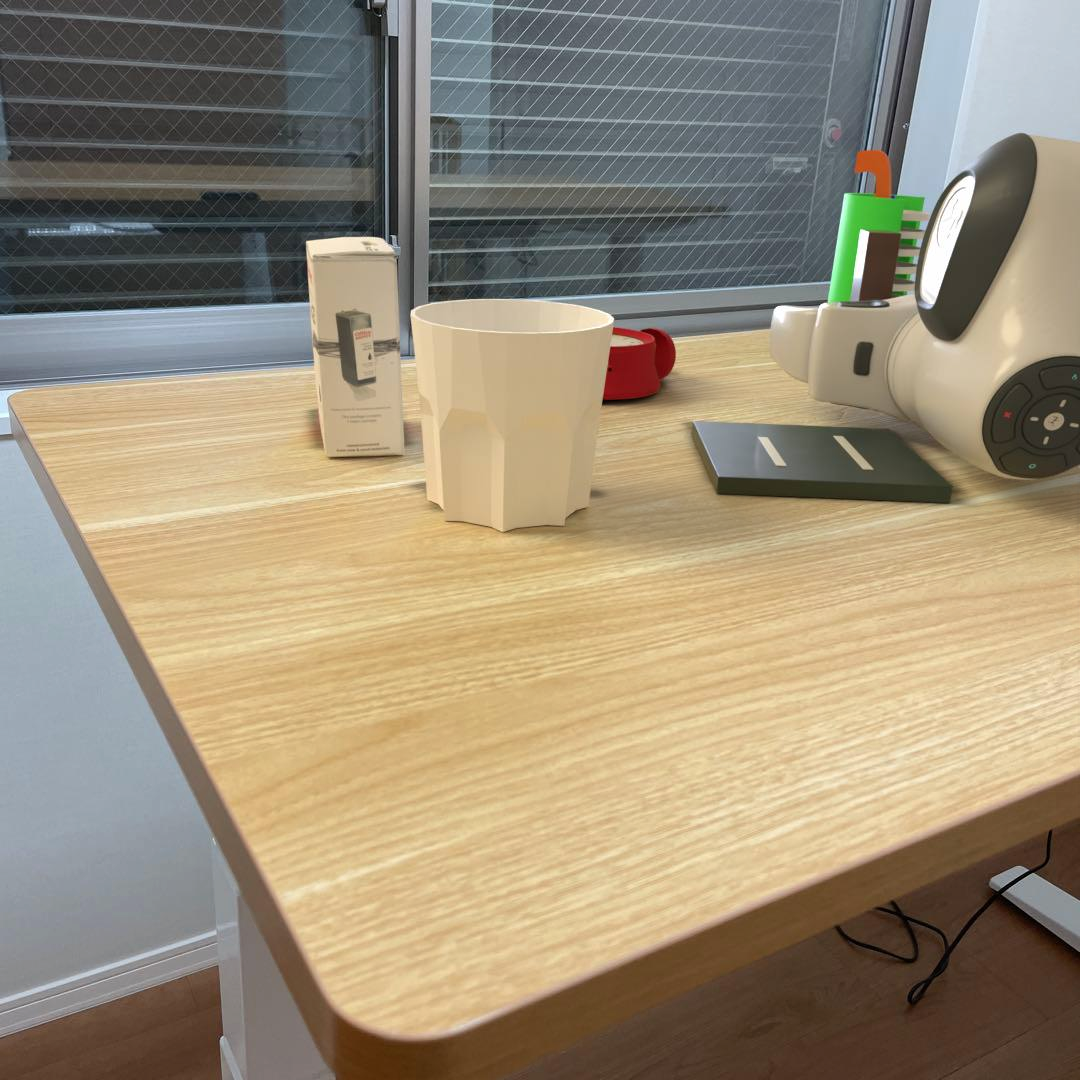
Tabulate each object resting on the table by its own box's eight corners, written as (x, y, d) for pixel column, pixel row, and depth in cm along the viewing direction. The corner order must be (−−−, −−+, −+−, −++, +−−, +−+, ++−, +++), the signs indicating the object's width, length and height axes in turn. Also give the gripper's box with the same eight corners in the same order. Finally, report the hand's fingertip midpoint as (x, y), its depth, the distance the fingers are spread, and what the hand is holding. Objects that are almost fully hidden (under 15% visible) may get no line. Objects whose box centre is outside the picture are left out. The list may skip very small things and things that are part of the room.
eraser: (823, 367, 91) (843, 226, 86) (868, 369, 91) (890, 228, 86) (846, 388, 83) (869, 234, 79) (896, 390, 83) (921, 236, 79)
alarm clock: (496, 346, 75) (577, 278, 86) (503, 423, 79) (579, 348, 90) (630, 363, 71) (696, 290, 83) (631, 443, 75) (694, 362, 86)
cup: (375, 515, 52) (370, 318, 49) (468, 464, 61) (470, 293, 57) (556, 551, 48) (566, 341, 45) (628, 491, 57) (641, 311, 53)
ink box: (313, 421, 68) (304, 235, 64) (389, 419, 69) (386, 236, 65) (320, 460, 60) (311, 251, 56) (406, 457, 62) (404, 252, 57)
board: (886, 443, 68) (889, 428, 68) (950, 503, 57) (953, 485, 57) (691, 435, 68) (692, 420, 68) (716, 493, 57) (718, 476, 57)
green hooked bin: (909, 363, 94) (945, 153, 87) (819, 355, 96) (847, 149, 89) (905, 345, 102) (937, 152, 96) (821, 338, 104) (848, 148, 98)
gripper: (1116, 316, 67) (1026, 286, 80) (800, 304, 67) (761, 276, 80) (1093, 411, 69) (1009, 367, 82) (788, 399, 69) (752, 358, 82)
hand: (885, 322), depth 81 cm, fingers open, 8 cm apart
